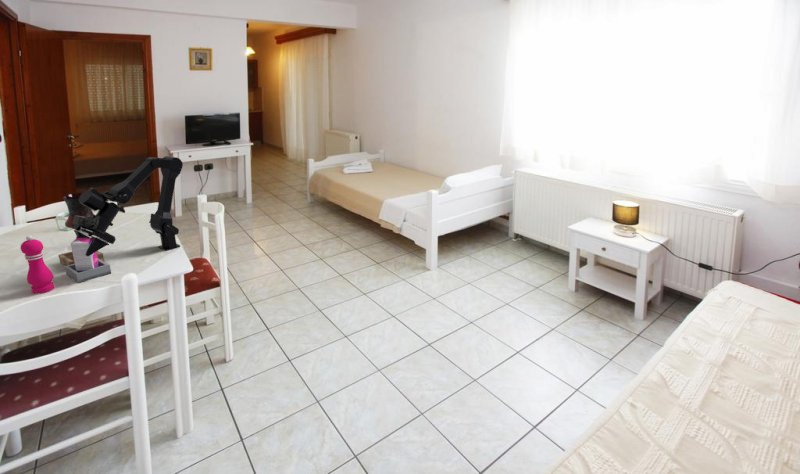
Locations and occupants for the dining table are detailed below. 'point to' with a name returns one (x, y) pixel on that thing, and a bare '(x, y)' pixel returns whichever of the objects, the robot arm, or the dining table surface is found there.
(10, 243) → the dining table surface
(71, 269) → the tray
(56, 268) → the dining table surface
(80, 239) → the supplement box
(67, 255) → the holder
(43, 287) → the pepper mill
